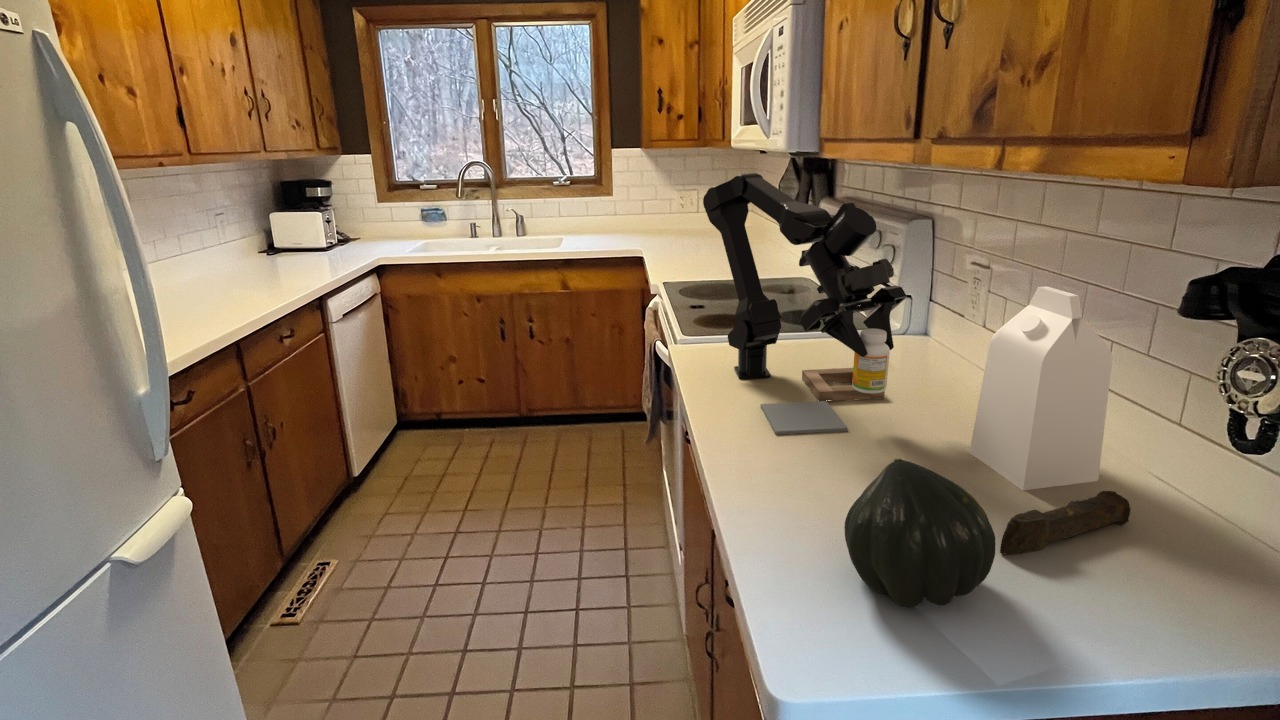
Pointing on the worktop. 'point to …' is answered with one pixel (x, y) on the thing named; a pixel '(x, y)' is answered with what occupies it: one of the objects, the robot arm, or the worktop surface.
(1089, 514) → the hand tool
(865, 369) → the supplement bottle
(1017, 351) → the milk
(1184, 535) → the worktop surface
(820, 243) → the robot arm
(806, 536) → the worktop surface
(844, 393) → the hole board
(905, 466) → the squash
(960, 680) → the worktop surface
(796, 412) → the slate mat
